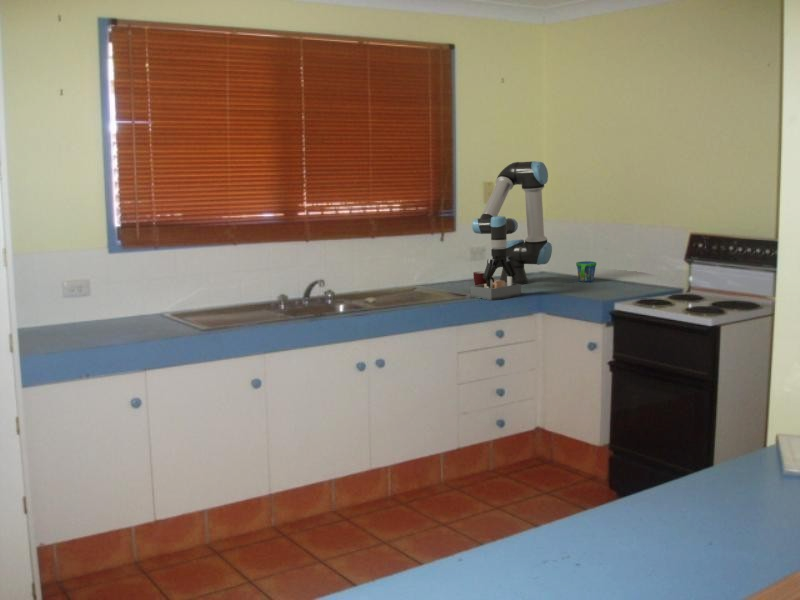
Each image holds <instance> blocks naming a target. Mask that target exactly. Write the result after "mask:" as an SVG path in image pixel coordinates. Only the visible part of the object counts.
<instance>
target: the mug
mask: <svg viewBox="0 0 800 600" xmlns="http://www.w3.org/2000/svg"><path fill="white" fill-rule="evenodd" d="M484 272H485V270H483V271H474V272H473V282H474V286H475V285H481V284H486V280H485V279H483V275H484ZM491 280H492V283H494V281H495V278H493V276H492V278H491Z"/></svg>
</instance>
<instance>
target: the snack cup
mask: <svg viewBox="0 0 800 600" xmlns="http://www.w3.org/2000/svg"><path fill="white" fill-rule="evenodd" d="M596 267H597V262H596V261H591V260H589V261H587V260H585V261H577V262H576V268H577V275H578V279H579V282H581V283H591V282H593V281H594V279H595V274H596Z"/></svg>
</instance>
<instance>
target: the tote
mask: <svg viewBox="0 0 800 600" xmlns="http://www.w3.org/2000/svg"><path fill="white" fill-rule="evenodd" d="M469 290H470V297H471V296H473V297H482V298H485V299H487V301H495V300H501V299H502V300H503V299H507V298H513V297H519V296H522V284H516V283H512V285H510V286H507V282H505V286H504V287H498V288H492V289H490V288H484V284H481V285H475V284H474V285H471V286H470V287H469ZM485 299H484V300H485Z"/></svg>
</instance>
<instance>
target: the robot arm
mask: <svg viewBox="0 0 800 600" xmlns="http://www.w3.org/2000/svg"><path fill="white" fill-rule="evenodd" d="M548 180H549V172H548V168H547V166H546V164H545V163H544V162H543V161H515V162H512V163H510V164H508V165H507V166H505V167H504V168H503V169H501V171H500V172H499V173H498V174H497V177H496V179H495V185H494V188H493V190H492V192H491V194H490V196H489V198H488V201H487V203H486V205H485V206H484V209H483V211H482V212H481V213H482V214H481V215H480V218H479V217H478V218H475V219H473V221H472V223H471V228H472V231H473V233H475V234H480V235H487V234H488V235H489V234H490V244H491V245H490V246H491V257H492V259H491V258H488V259H487V260H486V267H485V270H484V271H485V272H484V275H483V279H485V280H486V286H487V288H490V289H492V283H493V281H492V279H491V278H492V277H493V276H494V274H495V272H496V271H497V269H498V268H502V269H501V274H500V278H499V280H505V282H507V286H510V285H512V283H516V284H521V285H525V284H528V282H529V281H528V279H529V277H527V272H526V270H525V265H547V264H548V263H549V262H550V260H551V258H552V255H553V247H552V246H553V245H552V244H551V242H548V238H547V236H545V229H544V228H545V225H544V210H543V208H544V207H543V190H544V188H545V184H548ZM517 185H521V190H523V191H524V195H525V196H524V197H525V198H524V199H525V211H526V212H525V213H526V228H527V229H526V230H527V237H526V238H525V239H524V238H523V239H514V240H508V239H507V235H511V234H514V233H515V232H516V231H517V230H518V227H519V226H518V222H517V220H516V219H514V218H509V217H508V218H507V217H506V216H505V215H499V213H500V211H501V209H502V208H503V207H502V206H503V205H504V202H505V200H506V198H507V196H508V194H509V192H510V191H512V189H513V188H514V186H517Z"/></svg>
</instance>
